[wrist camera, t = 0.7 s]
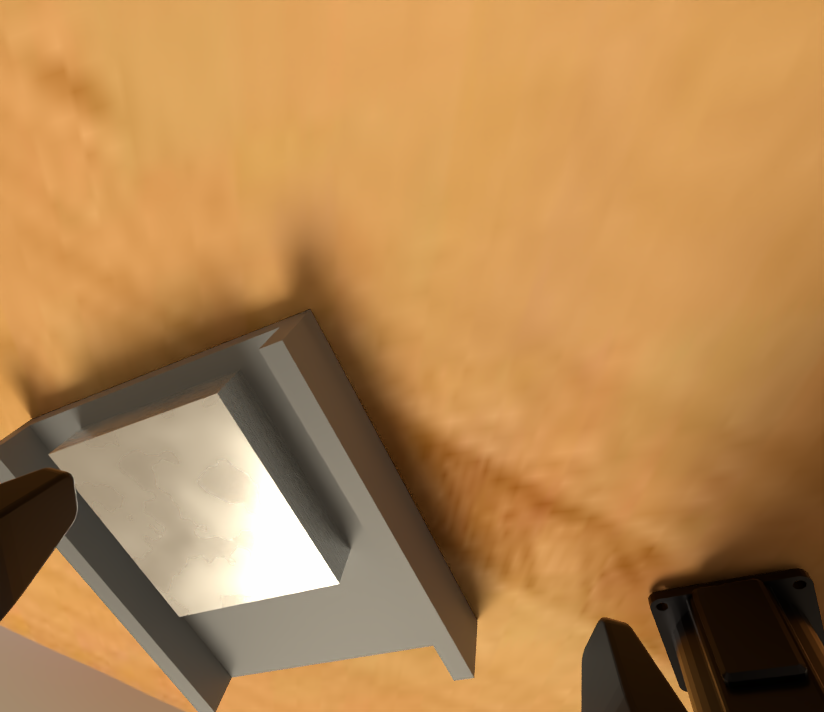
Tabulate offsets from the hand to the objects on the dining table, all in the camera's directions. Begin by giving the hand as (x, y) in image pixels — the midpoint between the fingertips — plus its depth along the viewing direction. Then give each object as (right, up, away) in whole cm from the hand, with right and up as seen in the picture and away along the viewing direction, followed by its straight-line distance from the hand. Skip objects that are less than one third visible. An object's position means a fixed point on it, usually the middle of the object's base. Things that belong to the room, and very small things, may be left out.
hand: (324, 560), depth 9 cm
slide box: (-6, -5, +18) cm, 20 cm away
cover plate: (-7, -3, +16) cm, 18 cm away
